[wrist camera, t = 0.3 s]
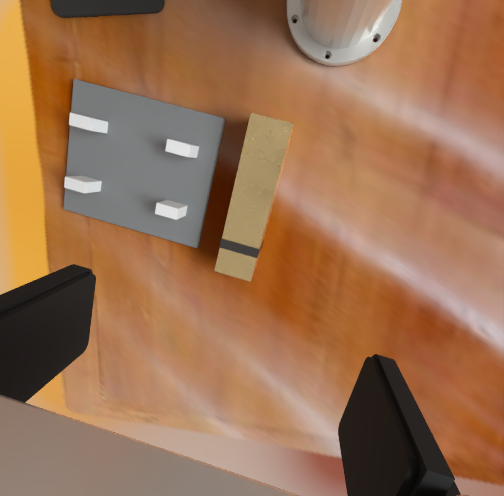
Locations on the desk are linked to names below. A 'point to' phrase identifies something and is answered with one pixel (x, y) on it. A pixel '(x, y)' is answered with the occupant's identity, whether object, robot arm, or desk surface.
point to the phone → (105, 7)
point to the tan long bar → (253, 195)
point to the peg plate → (140, 162)
